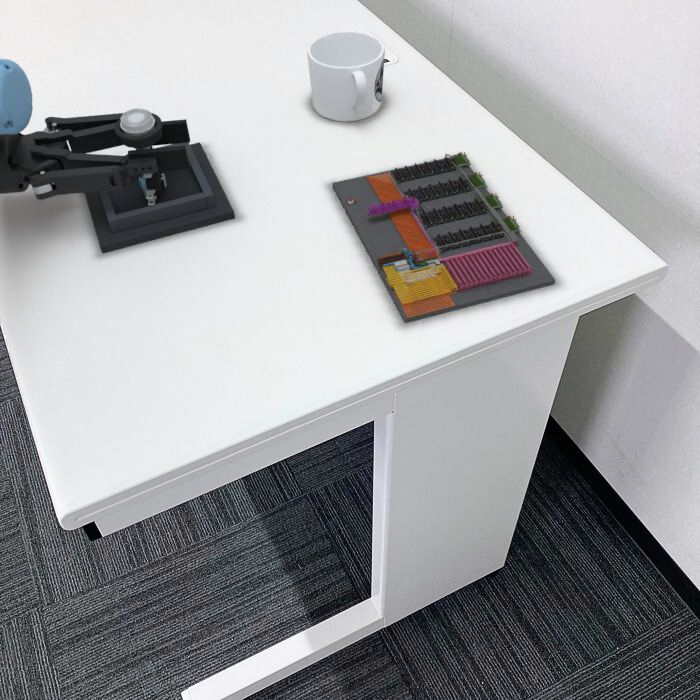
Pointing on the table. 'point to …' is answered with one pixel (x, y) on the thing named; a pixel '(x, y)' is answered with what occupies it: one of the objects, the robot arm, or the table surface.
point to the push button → (142, 144)
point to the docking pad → (160, 205)
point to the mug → (346, 75)
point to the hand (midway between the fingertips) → (187, 143)
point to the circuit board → (439, 237)
